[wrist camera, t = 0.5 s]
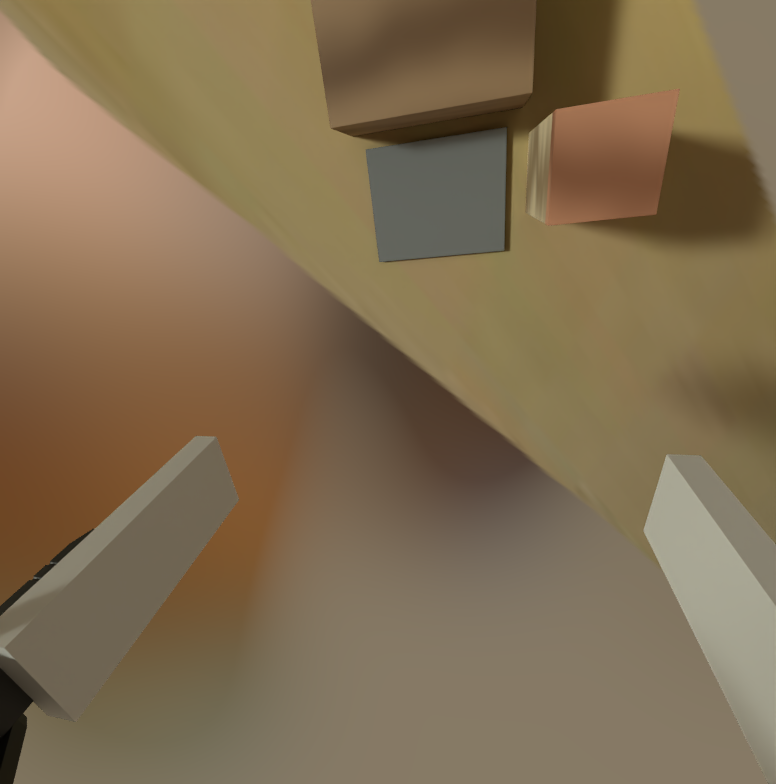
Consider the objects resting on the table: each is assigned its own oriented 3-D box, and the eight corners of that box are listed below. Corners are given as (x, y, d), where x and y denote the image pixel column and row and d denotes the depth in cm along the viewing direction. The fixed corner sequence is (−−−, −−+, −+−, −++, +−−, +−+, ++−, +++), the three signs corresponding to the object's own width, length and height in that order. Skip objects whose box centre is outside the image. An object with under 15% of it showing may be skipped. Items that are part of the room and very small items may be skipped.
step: (332, -11, 25) (302, -52, 20) (528, -62, 22) (542, -122, 18) (352, 136, 28) (330, 128, 24) (522, 107, 26) (532, 92, 21)
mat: (367, 150, 29) (365, 149, 28) (506, 127, 26) (506, 127, 26) (380, 261, 32) (379, 261, 32) (503, 249, 30) (504, 250, 30)
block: (528, 133, 26) (556, 109, 18) (608, 120, 25) (679, 88, 17) (525, 212, 29) (548, 225, 20) (598, 204, 28) (656, 214, 19)
